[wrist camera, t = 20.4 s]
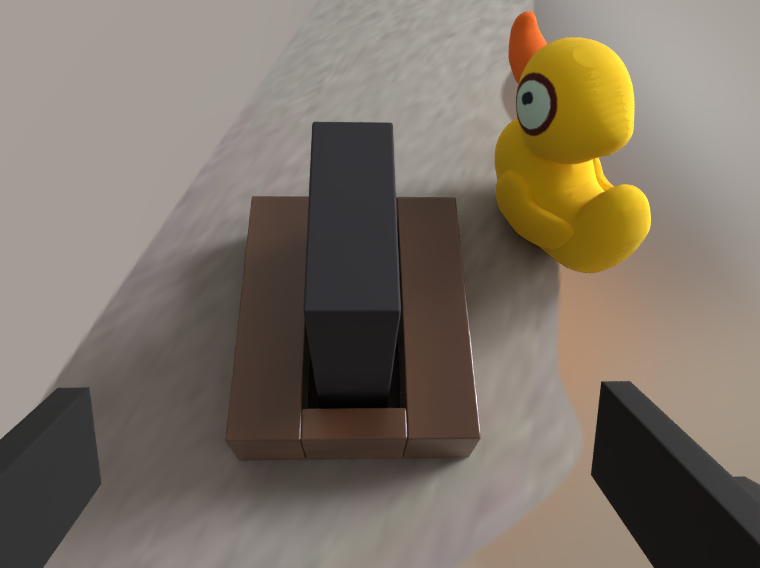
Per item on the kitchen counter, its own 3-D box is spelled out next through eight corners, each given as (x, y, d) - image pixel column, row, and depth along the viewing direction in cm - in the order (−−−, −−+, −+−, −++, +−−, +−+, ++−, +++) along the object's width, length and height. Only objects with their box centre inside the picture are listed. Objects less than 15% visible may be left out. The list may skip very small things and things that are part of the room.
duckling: (446, 155, 35) (475, -1, 26) (525, 130, 36) (577, -28, 28) (550, 315, 30) (629, 186, 21) (638, 279, 31) (746, 143, 23)
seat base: (238, 460, 26) (225, 441, 23) (260, 231, 32) (251, 195, 29) (468, 457, 26) (481, 438, 24) (447, 232, 32) (455, 196, 30)
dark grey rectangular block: (319, 414, 27) (303, 311, 18) (324, 263, 31) (312, 120, 22) (386, 413, 27) (401, 311, 19) (382, 263, 31) (392, 121, 23)
